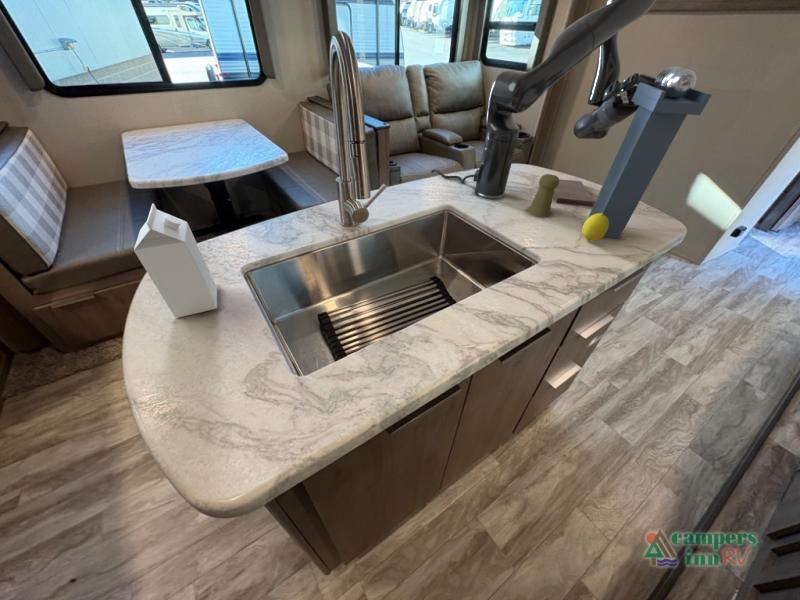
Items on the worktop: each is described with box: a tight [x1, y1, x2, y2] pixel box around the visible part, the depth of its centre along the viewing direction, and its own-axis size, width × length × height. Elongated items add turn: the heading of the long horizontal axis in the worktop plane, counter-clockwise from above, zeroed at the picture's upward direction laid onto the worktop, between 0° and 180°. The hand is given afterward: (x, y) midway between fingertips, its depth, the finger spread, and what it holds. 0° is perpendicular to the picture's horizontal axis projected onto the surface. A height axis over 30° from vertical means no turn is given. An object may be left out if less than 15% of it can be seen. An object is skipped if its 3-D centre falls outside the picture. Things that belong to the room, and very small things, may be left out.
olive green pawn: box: [528, 173, 560, 218], centre depth 93 cm, size 6×6×11 cm
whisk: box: [635, 66, 697, 99], centre depth 71 cm, size 21×5×5 cm, turn 170°
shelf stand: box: [587, 83, 712, 239], centre depth 78 cm, size 12×9×34 cm
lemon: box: [581, 213, 609, 242], centre depth 82 cm, size 6×6×8 cm
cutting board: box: [553, 178, 595, 207], centre depth 108 cm, size 17×11×2 cm, turn 170°
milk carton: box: [133, 203, 218, 319], centre depth 57 cm, size 7×7×19 cm
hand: (655, 78), depth 74 cm, fingers open, 8 cm apart
